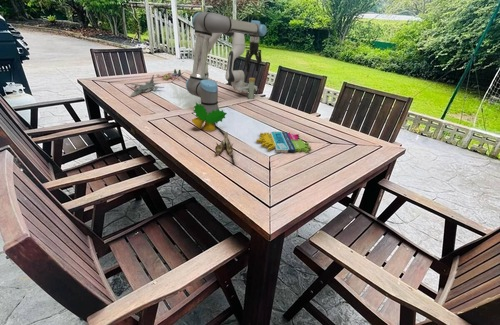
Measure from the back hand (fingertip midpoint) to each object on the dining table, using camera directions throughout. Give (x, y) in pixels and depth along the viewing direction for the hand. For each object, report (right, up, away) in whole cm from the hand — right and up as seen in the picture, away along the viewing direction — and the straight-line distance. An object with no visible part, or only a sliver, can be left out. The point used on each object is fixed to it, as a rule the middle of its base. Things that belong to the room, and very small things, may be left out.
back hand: (251, 91), depth 228 cm
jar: (-1, -5, +4) cm, 7 cm away
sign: (+17, -51, -76) cm, 93 cm away
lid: (0, +9, -4) cm, 10 cm away
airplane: (-94, 0, +2) cm, 94 cm away
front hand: (0, +15, -7) cm, 16 cm away
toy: (-87, +29, +54) cm, 106 cm away
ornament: (-27, -41, -64) cm, 81 cm away
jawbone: (-15, -57, -90) cm, 107 cm away
